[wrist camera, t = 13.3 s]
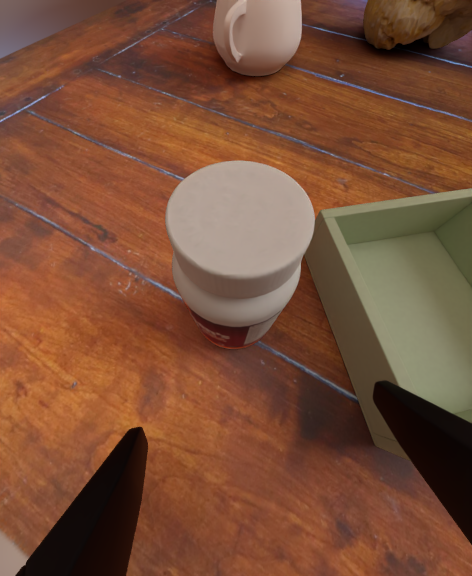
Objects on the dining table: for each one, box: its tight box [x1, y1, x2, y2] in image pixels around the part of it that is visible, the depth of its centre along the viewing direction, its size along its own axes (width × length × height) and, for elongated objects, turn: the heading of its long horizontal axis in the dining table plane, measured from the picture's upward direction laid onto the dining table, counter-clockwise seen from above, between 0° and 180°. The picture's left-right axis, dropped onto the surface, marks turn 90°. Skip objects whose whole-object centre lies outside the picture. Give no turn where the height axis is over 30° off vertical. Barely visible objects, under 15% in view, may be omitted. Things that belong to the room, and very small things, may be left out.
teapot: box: [213, 0, 302, 76], centre depth 29 cm, size 20×12×10 cm, turn 154°
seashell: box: [363, 0, 472, 50], centre depth 33 cm, size 17×11×15 cm
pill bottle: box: [165, 161, 315, 349], centre depth 13 cm, size 6×6×11 cm
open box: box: [304, 188, 472, 461], centre depth 16 cm, size 16×14×5 cm
